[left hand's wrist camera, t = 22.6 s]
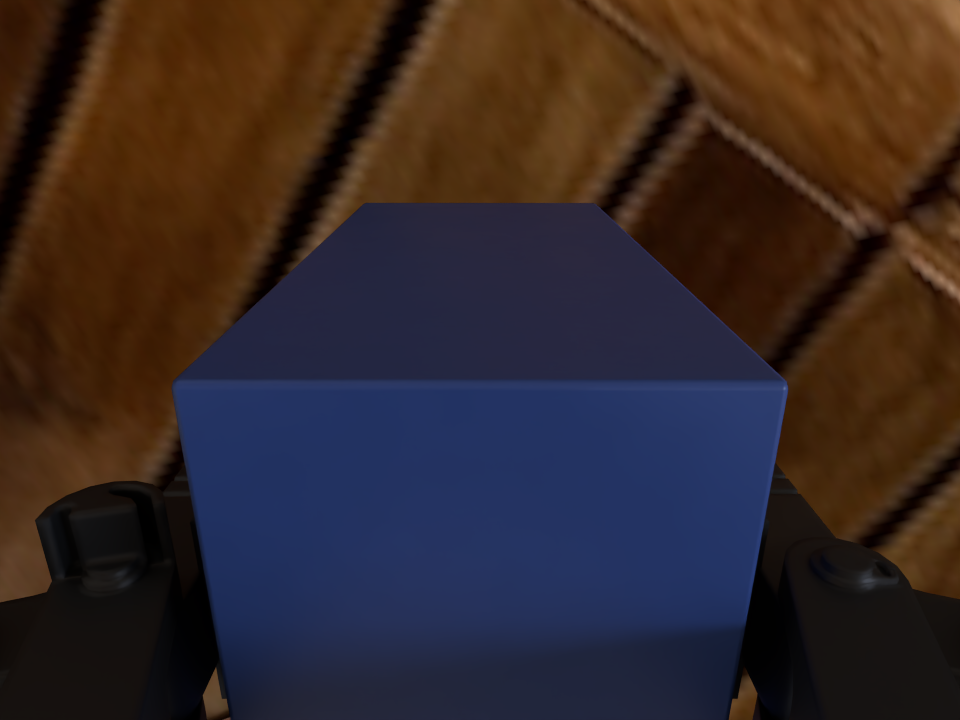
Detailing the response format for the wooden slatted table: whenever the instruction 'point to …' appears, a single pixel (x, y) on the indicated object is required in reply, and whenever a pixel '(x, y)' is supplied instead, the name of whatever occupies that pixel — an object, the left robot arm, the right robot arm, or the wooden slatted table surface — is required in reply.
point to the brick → (479, 476)
